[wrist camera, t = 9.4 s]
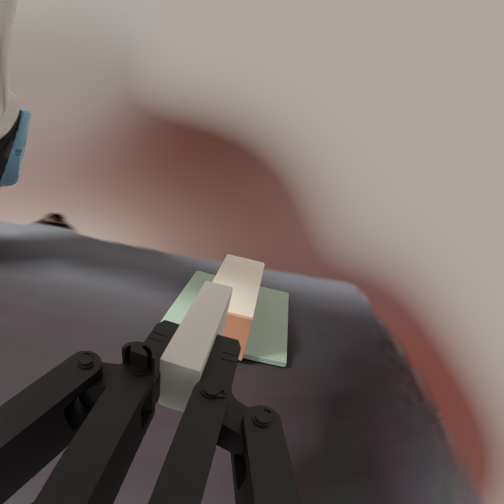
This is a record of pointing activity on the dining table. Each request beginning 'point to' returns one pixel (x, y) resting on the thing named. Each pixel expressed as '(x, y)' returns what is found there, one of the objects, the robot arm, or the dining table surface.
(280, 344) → the sage mat
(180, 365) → the robot arm
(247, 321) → the cream block
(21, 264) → the dining table surface
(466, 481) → the dining table surface
